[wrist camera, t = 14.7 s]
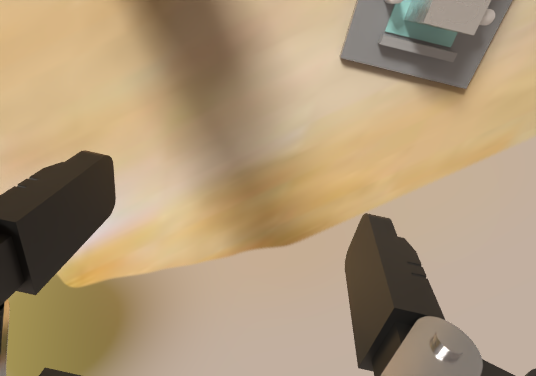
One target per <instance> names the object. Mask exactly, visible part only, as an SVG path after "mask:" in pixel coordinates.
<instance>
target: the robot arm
mask: <svg viewBox="0 0 536 376" xmlns="http://www.w3.org/2000/svg"><path fill="white" fill-rule="evenodd" d="M114 205H115V183H114V168H113V161H112V158H111V157H110V156H108V155H103V154H99V153H94V152H90V151H81V152H79V153H78V154H76V155H75V156H73V157H72V158H70V159H69V160H67V161H65V162H61V163H58V164H55V165H52V166H49V167H46V168H43V169H42V170H40V171H38V172H37V173H35V174H34V175H32V176H30V178H29V179H26V180H24V181H22V182H21V183H19V184H18V186H17V187H15V186H14V187H13V188H11V189H10V190H8V191H6V192H5V193H3V194H2V195H0V376H6V358H7V342H8V327H9V311H10V305H9V301H8V298H9V297H10V296H11V295H12V294H13V293H14V292H15V291H19V292H24V293H29V294H33V295H36V294H37V293H38V292H39V291H40V290H41V289H42V288H43V286H45V285H46V283H48V281H49V280H50V279H51V278H52V277H53V276H54V275H55V274H56V273H57V272H58V271H59V270H60V269H61V268H62V266H63V265H64V264H65V263H66V262H67V261H68V260H69V259H70V258H71V257H72V256H73V255H74V254H75V253H76V252H77V250H78V249H79V248H80V247H81V246H82V245H83V244H84V243H85V242H86V241H87V240H88V239H89V238H90V237H91V235H92V234H93V233H94V232H95V231H96V230H97V229H98V228H99V227H100V226H101V225H102V224H103V223H104V222H105V220H106V219H107V218H108V217H109V216H110V215H111V213H112V211H113V209H114ZM345 273H346V281H347V288H348V296H349V303H350V310H351V318H352V325H353V333H354V340H355V348H356V355H357V362H358V368H361V369H365V370H370V371H374V376H515V375H513V374H511V373H509V372H507V371H505V370H503V369H501V368H499V367H496V366H495V365H493V364H490V363H488V362H486V361H485V360H483V359H482V358H481V355H480V352H479V351H478V349H477V347H476V345H475V344H474V343H473V341H472V340H471V339H470V338H469V337H468V336H467V335H466V334H465V333H464V332H463V331H462V330H460V329H459V328H458V327H456V326H455V325H453V324H452V323H450V322H448V321H446V320H445V318H444V316H443V314H442V311H441V309H440V307H439V304H438V302H437V300H436V297H435V295H434V293H433V290H432V288H431V286H430V283H429V281H428V279H426V274H425V272H424V269H423V267H421V262H420V260H419V258H418V255H417V253H416V251H415V250H414V249H413V248H412V246H411V245H410V244H409V243H408V242H407V241H406V240H405V239H404V238H401V237H397V234H396V232H395V229H394V226H393V223H392V221H391V220H390V219H389V218H385V217H380V216H376V215H371V214H367V213H366V214H364V215H363V216H362V218H361V221H360V223H359V225H358V227H357V230H356V232H355V235H354V237H353V239H352V242H351V244H350V246H349V249H348V251H347V255H346V260H345ZM39 376H80V375H75V374H71V373H67V372H62V371H58V370H53V369H49V368H44V370H43V371H42V373H41V374H40V375H39ZM525 376H536V369H533V370H531V371H530V372H528V373H527V374H526V375H525Z"/></svg>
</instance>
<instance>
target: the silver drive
mask: <svg viewBox="0 0 536 376" xmlns="http://www.w3.org/2000/svg"><path fill="white" fill-rule="evenodd" d="M490 2H491V0H411V2H410V5H409V8H408V10H407V13H406V16H405V18H404V20H407V21H411V22H415V23H419V24H423V25H427V26H431V27H435V28H439V29H443V30H447V31H453V32H458V33H464V34H469V35H474V34H475V32H476V30H477V28H478V26H479V24H480V22H481V20H482V18H483V16H484V14H485V12H486V10H487V8H488V6H489V4H490Z"/></svg>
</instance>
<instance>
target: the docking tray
mask: <svg viewBox="0 0 536 376" xmlns="http://www.w3.org/2000/svg"><path fill="white" fill-rule="evenodd" d="M410 2H411V0H357V2H356V5H355V8H354V12H353V15H352V18H351V21H350V25H349V28H348V31H347V34H346V38H345V41H344V44H343V47H342V51H341V54H340V58H343V59H347V60H351V61H355V62H359V63H363V64H367V65H371V66H375V67H379V68H383V69H387V70H391V71H395V72H399V73H403V74H407V75H412V76H416V77H420V78H424V79H428V80H432V81H436V82H440V83H444V84H448V85H452V86H456V87H460V88H464V89H466V88H467V86H468V84H469V82H470V80H471V79H472V77H473V75H474V73H475V71H476V69H477V67H478V65H479V63H480V61H481V59H482V57H483V56H484V54H485V52H486V50H487V48H488V46H489V44H490V42H491V40H492V38H493V36H494V35H495V33H496V31H497V29H498V27H499V25H500V23H501V21H502V19H503V17H504V15H505V13H506V12H507V10H508V8H509V6H510V4H511V2H512V0H491V2H490V4H489V6H488V8H487V10H486V12H485V14H484V16H483V18H482V20H481V22H480V24H479V26H478V28H477V30H476V32H475V34H474V35H469V34H464V33H458V32H453V31H447V30H443V29H439V28H435V27H431V26H427V25H423V24H419V23H415V22H411V21H407V20H404V18H405V16H406V13H407V10H408V8H409V5H410Z"/></svg>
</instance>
